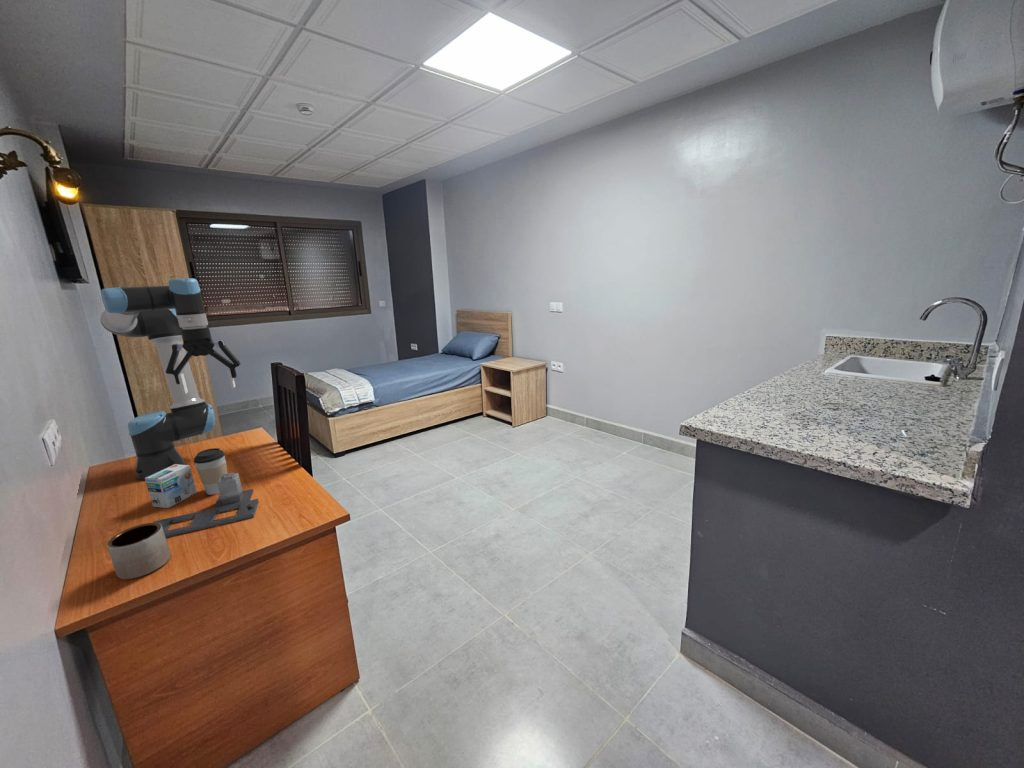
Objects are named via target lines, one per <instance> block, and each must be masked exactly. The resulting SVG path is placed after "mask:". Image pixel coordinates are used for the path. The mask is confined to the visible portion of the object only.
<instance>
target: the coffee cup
mask: <svg viewBox="0 0 1024 768" xmlns="http://www.w3.org/2000/svg"><path fill="white" fill-rule="evenodd" d="M225 455H226V453H225V451H223V450H222V449H221V448H218V447H216V448H214V447H213V448H208V449H207V448H206V449H204V450H201V451H199V452H198V453H196V455H195V456H194V458H193V463H194V465H195V469H196V472H197V475H198V477H199V479H200V481H201V483H202V486H203V488H204V490H205V493H206V494H207V495H209V496H210V495H211V496H212V495H218V494H220V492H219V488H218V484H217V482H218V480H219V479H220V477H221V476H222V475H224V474H229V473H228V468H227V467H228V466H227V460H226V456H225Z"/></svg>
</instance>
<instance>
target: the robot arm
mask: <svg viewBox="0 0 1024 768" xmlns="http://www.w3.org/2000/svg"><path fill="white" fill-rule="evenodd" d="M167 284H168V285H153V286H152V285H151V286H130V287H129V286H128V287H124V286H123V287H118V286H116V287H115V286H114V287H110V288H109V287H108V288H102V289H101V290H100V296H101V301H102V304H103V306H104V308H105V310H103V312H102V313H101V315H100V323H101V325H102V326H103V328H104V329H105V330H106V331H108V332H109V333H111V334H114V335H117V336H120V337H123V338H124V337H125V338H144V337H145V338H146V337H147V339H148V341H149V342H150V343H152V344H154V345H155V346H156V347H155V348H156V350H157V354H158V357H159V360H160V361H159V362H160V364H161V366H162V370H163V373H164V377H165V380H166V383H167V386H168V390H169V393H170V396H171V398H172V402H173V403H172V405H171V406H170V407H169V408H170V412H167V413H166V412H165V411H164V410H156V411H150V412H147V413H144V414H141V415H139V416H136V417H134V418H132V419H131V420H130V421H129V422H128V423H127V428H128V435H129V436H130V439H131V442H132V446H133V449H134V452H135V455H136V463H135V471H134V472H135V476H136V477H135V478H137V479H138V480H145V478H146V477H148V476H150V475H153V474H155V473H157V472H159V471H161V470H164V469H166V468H168V467H170V466H172V465H174V464H179V465H186V462H185V459H184V458H183V456H182V455H181V454H180V452H179V451H178V450H177V448H176V447H175V443H174V442H178V441H182V440H186V439H189V438H192V437H196V436H202V435H203V434H207V433H210V432H212V431H213V430H214V429H215V425H216V416H215V411H214V409H213V405H212V404H210V403H207V402H206V400H205V399H203V398H201V397H200V394H199V391H198V388H197V386H196V381H195V379H194V374H193V372H192V368H191V366H190V362H189V361H190V359H191V358H192V357H200V356H202V357H204V356H209V355H210V356H211V357H213V358H214V359H215V360H217V361H218V362H220V363H221V364H223V365H225V367H227V370H226V372H227V375H228V379H229V384H230V388H231V389H235V388H236V382H235V378H237V376H238V375H237V372H236V368H238V367H240V366H241V364H242V363H241V362H240V360H238V358H237V357H236V356H235V355H234V354H233V352H232V351H231V350H230V349H229V348H228V347H227V346H226V343H225V340H224V339H219V340H217V341H214V340H213V339H212V334H211V331H210V327H209V326H208V325H209V321H208V318H207V315H206V311H205V310H206V309H205V305H204V301H203V297H202V293H201V288H200V285H199V281H198V280H197V279H196V278H193V277H192V278H191V277H190V278H171V279H168V282H167ZM215 346H216V347H217V348H219V349H220V350H221V352H222V353H224V355H225V356H226V357H227V358H228V359H227V358H225V356H223V355H221V354H220V353H219V352H217V350H215V349H214V347H215Z"/></svg>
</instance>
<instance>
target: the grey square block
mask: <svg viewBox="0 0 1024 768" xmlns="http://www.w3.org/2000/svg"><path fill="white" fill-rule="evenodd" d="M217 484H218V488H219V492H220V493H219V496H221V499H222V503H223V505H224V504H228V503H233V502H238V501H241V498H242V496H243V491H244V490H243V488H242V483H241V478H240V475H239V473H238V472H237V473H235V472H229V473H228V474H224V475H222V476H221V477H220V479H219V480H218V482H217Z"/></svg>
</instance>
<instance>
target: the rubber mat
mask: <svg viewBox="0 0 1024 768" xmlns="http://www.w3.org/2000/svg"><path fill="white" fill-rule="evenodd" d="M242 491H243V496H242V498H241V501H238V502H233V503H228V504H224V505H223V503H222V499H221V495H219V496H218V498H217V500H216V502H215V504H214V506H213V508H217V507H222V506H227V505H231V504H236V503H240V502H245V501H250V500H251V498H252V495H253V493H254V488H251V489H246V490H242Z"/></svg>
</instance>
